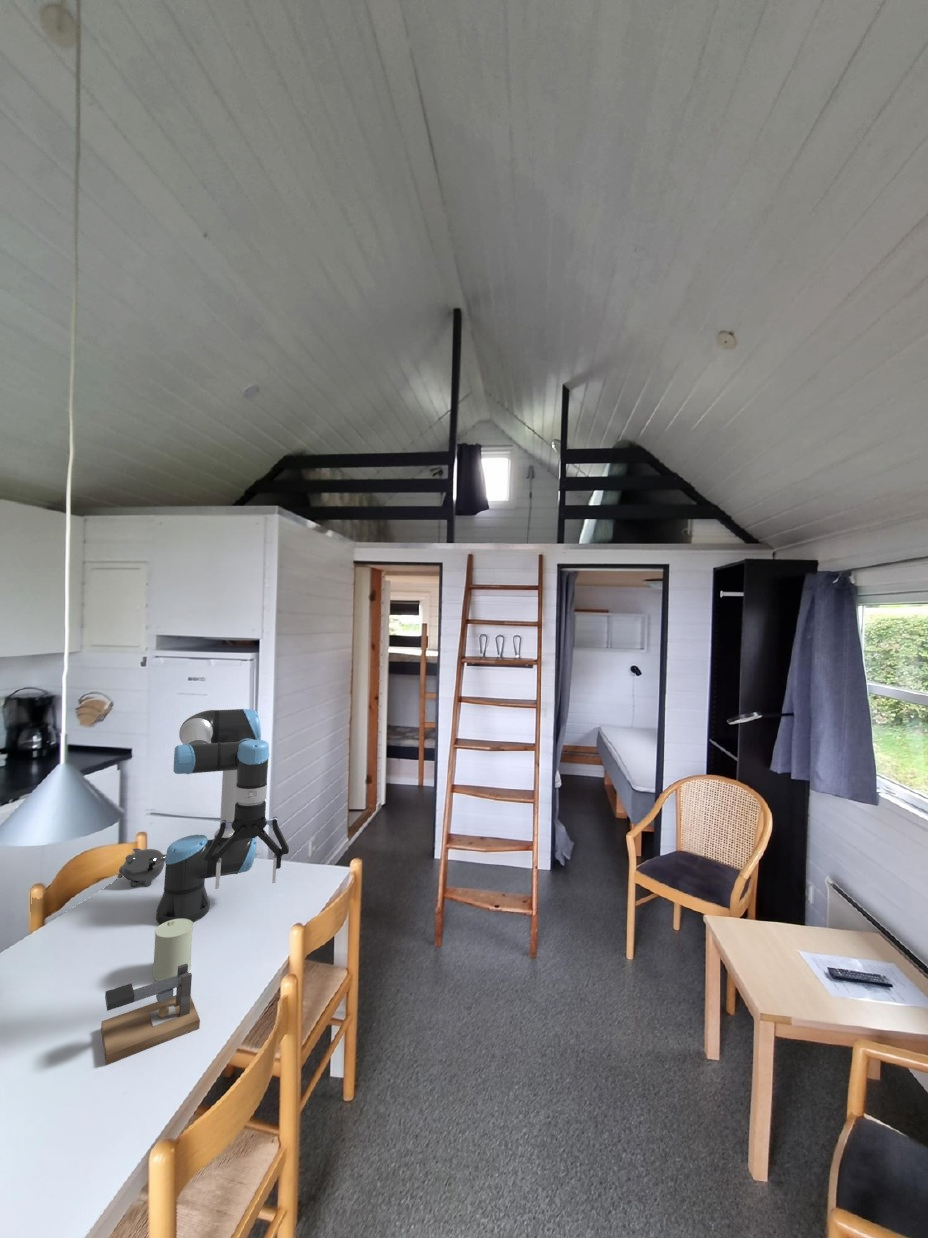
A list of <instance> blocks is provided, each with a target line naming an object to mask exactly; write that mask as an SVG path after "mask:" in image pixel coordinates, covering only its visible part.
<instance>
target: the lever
mask: <svg viewBox="0 0 928 1238" xmlns="http://www.w3.org/2000/svg"><path fill="white" fill-rule="evenodd" d="M188 973H189V972H188V971H183V972H181V973H180V974H179V975H177V976H174V977H171V978H168V979H165V980H162V981H156V982H153V983H149V984H147V985H144V986H141V987H139V988H135V989H134V987H133V983H132V982H131V983H128V984H124V985H121V986H118V987H115V988H113V989H112V988H111V989H109V990H106V991H105V995H104V998H105V1000H104V1001H105V1006H106V1012H108V1011H111V1010H115V1009H117V1008H121V1007H125V1006H127V1005H129V1004H133V1003H135V1002H138V1001H142V1000H145V999H147V998H150V997H153V996H155V995H156V996H155V997H156V998H155V999H156V1002H158V1004H159V1003H162V1002H165V1001H168V1000H171V999H173V996H174V989H177V987H180V986H181V976H182V975H185V974H188Z"/></svg>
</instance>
